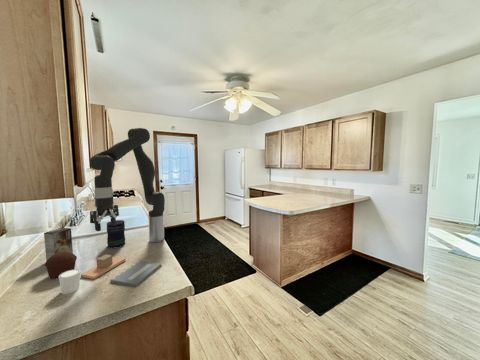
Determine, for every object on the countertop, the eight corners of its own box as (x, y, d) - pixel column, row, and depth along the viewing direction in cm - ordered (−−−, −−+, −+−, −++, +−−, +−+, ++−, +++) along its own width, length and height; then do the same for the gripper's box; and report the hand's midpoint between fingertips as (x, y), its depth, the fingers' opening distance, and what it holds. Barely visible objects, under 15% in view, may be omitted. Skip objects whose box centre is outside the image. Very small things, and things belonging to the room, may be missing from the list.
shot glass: (64, 286, 84) (63, 270, 83) (83, 283, 86) (83, 267, 86) (55, 296, 77) (54, 279, 77) (77, 292, 80) (76, 276, 79)
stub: (113, 258, 108) (113, 248, 108) (125, 260, 106) (125, 250, 106) (80, 276, 91) (80, 265, 90) (94, 279, 89) (93, 267, 88)
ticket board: (139, 262, 104) (139, 260, 104) (161, 265, 102) (161, 263, 101) (110, 282, 87) (110, 279, 87) (135, 286, 84) (135, 283, 84)
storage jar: (119, 248, 122) (118, 224, 121) (103, 248, 122) (102, 224, 121) (128, 242, 132) (127, 220, 131) (114, 242, 132) (113, 220, 131)
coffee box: (64, 254, 113) (62, 227, 111) (73, 255, 111) (71, 228, 110) (45, 262, 104) (43, 232, 102) (55, 263, 102) (53, 233, 101)
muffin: (40, 277, 90) (38, 255, 90) (68, 265, 101) (67, 246, 100) (53, 283, 86) (52, 261, 85) (82, 271, 96) (81, 251, 95)
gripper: (110, 193, 106) (111, 223, 107) (83, 198, 92) (86, 232, 93) (121, 194, 104) (123, 224, 106) (97, 199, 90) (99, 233, 92)
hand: (106, 228), depth 100 cm, fingers open, 8 cm apart
